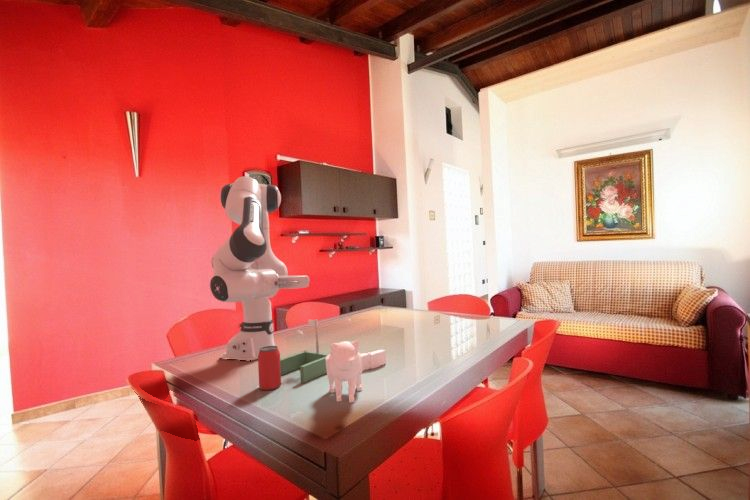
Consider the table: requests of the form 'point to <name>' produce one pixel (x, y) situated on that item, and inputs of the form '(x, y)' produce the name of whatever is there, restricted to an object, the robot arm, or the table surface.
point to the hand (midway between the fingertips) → (298, 279)
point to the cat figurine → (344, 368)
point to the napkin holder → (373, 359)
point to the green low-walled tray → (306, 361)
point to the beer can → (269, 368)
